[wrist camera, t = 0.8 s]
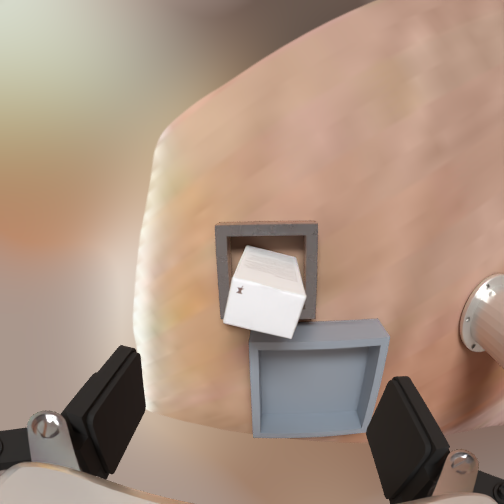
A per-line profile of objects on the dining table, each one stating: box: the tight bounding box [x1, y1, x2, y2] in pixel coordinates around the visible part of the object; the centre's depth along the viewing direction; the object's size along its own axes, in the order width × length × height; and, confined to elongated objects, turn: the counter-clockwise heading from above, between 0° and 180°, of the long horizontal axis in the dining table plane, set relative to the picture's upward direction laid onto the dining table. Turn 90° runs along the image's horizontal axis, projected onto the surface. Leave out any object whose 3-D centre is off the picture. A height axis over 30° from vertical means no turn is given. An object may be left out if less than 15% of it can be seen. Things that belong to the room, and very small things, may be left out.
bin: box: [249, 319, 390, 438], centre depth 35 cm, size 16×16×5 cm
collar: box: [215, 221, 318, 319], centre depth 34 cm, size 11×11×2 cm
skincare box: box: [223, 245, 307, 339], centre depth 29 cm, size 6×4×12 cm
